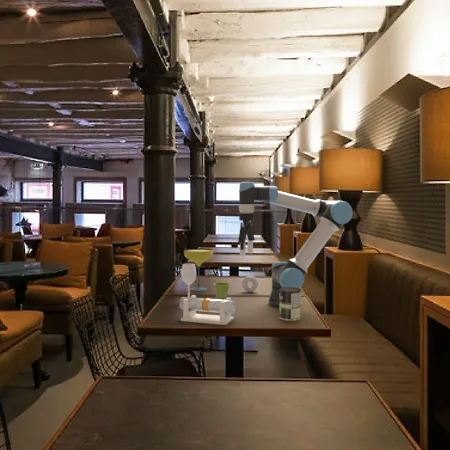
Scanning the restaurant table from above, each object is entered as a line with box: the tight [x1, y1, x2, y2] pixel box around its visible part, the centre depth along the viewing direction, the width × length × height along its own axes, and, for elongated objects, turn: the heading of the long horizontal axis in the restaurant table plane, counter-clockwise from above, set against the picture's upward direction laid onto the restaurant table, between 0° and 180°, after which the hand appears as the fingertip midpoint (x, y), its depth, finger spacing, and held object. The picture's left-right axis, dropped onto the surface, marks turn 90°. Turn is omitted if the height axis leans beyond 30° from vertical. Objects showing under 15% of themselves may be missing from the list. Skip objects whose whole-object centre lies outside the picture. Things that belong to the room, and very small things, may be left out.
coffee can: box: [278, 287, 302, 322], centre depth 232 cm, size 10×10×14 cm
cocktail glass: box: [183, 248, 214, 292], centre depth 306 cm, size 18×18×25 cm
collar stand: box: [180, 294, 235, 326], centre depth 229 cm, size 22×12×10 cm, turn 71°
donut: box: [241, 275, 259, 293], centre depth 298 cm, size 10×4×10 cm, turn 88°
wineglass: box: [180, 263, 197, 297], centre depth 268 cm, size 9×9×21 cm
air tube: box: [178, 296, 237, 315], centre depth 229 cm, size 26×6×6 cm, turn 71°
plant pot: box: [213, 281, 231, 300], centre depth 278 cm, size 9×9×9 cm
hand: (246, 254), depth 246 cm, fingers open, 13 cm apart
